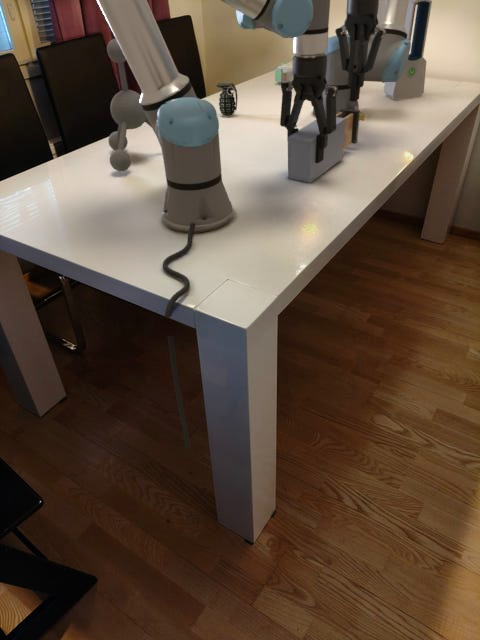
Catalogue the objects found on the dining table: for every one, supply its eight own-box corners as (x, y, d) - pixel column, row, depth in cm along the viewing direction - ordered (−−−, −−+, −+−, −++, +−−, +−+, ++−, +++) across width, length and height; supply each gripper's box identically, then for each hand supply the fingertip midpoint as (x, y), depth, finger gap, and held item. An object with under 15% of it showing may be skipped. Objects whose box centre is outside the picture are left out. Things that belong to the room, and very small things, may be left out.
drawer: (348, 133, 141) (351, 102, 136) (365, 135, 139) (368, 104, 133) (311, 160, 128) (311, 127, 123) (329, 163, 126) (330, 130, 120)
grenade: (217, 117, 168) (214, 86, 162) (221, 112, 172) (219, 82, 166) (235, 117, 166) (233, 86, 160) (239, 113, 171) (238, 82, 165)
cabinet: (321, 154, 133) (323, 115, 127) (343, 158, 130) (345, 118, 123) (287, 178, 123) (287, 137, 116) (310, 183, 120) (311, 141, 113)
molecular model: (194, 162, 134) (180, 38, 116) (114, 177, 128) (87, 49, 110) (171, 138, 152) (156, 27, 133) (100, 151, 146) (75, 36, 127)
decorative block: (298, 54, 217) (338, 57, 207) (297, 70, 220) (337, 74, 211) (266, 66, 200) (309, 70, 191) (266, 83, 204) (308, 87, 195)
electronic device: (392, 100, 174) (405, 0, 156) (382, 95, 180) (394, -2, 162) (423, 96, 177) (440, -3, 158) (412, 91, 182) (427, -5, 164)
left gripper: (358, 54, 104) (349, 160, 118) (281, 48, 113) (281, 148, 128) (342, 60, 99) (334, 171, 113) (263, 54, 109) (265, 157, 123)
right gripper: (395, -7, 116) (382, 99, 130) (345, -7, 122) (338, 94, 137) (383, -3, 111) (371, 106, 126) (331, -4, 117) (326, 100, 132)
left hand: (306, 158), depth 120 cm, fingers closed on cabinet, 6 cm apart
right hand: (354, 99), depth 131 cm, fingers closed
